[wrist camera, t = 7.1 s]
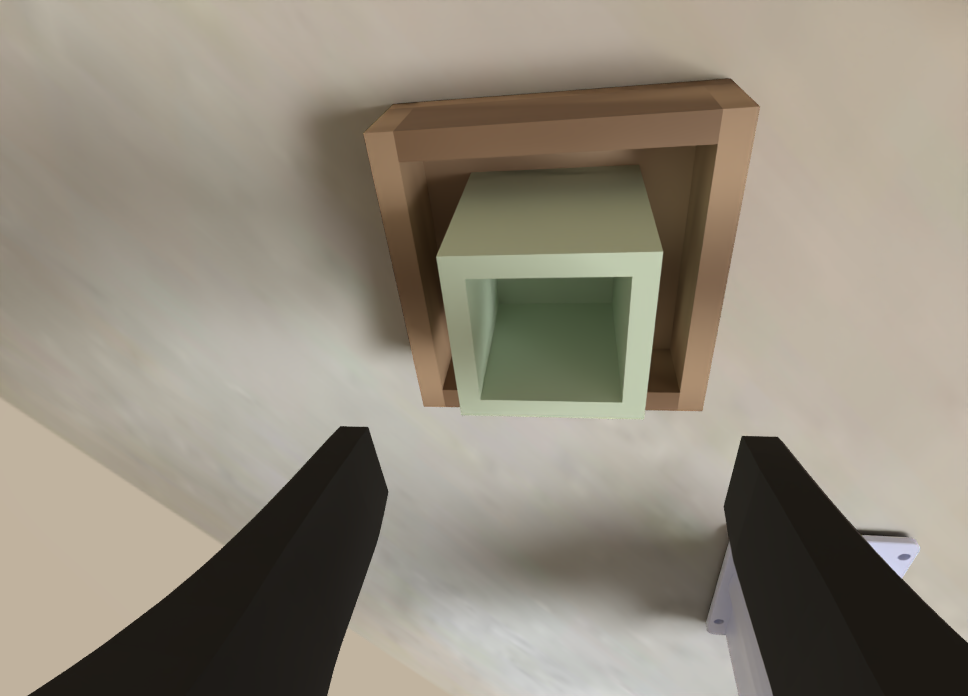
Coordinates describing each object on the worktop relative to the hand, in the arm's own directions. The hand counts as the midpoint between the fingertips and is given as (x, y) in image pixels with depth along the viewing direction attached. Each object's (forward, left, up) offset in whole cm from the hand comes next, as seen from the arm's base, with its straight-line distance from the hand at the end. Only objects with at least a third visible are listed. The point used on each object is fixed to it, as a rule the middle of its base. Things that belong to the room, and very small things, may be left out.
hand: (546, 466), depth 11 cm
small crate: (0, 0, -9) cm, 9 cm away
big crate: (0, 0, -10) cm, 10 cm away
